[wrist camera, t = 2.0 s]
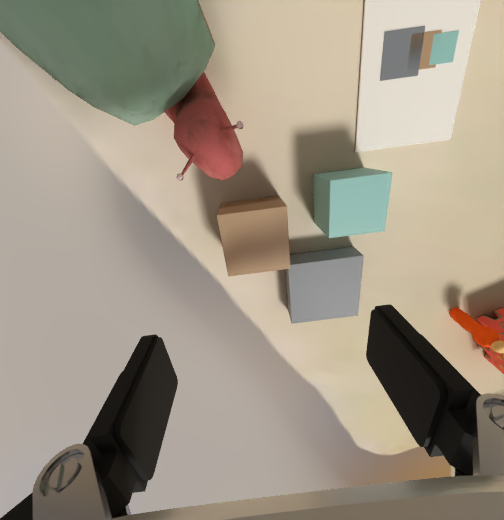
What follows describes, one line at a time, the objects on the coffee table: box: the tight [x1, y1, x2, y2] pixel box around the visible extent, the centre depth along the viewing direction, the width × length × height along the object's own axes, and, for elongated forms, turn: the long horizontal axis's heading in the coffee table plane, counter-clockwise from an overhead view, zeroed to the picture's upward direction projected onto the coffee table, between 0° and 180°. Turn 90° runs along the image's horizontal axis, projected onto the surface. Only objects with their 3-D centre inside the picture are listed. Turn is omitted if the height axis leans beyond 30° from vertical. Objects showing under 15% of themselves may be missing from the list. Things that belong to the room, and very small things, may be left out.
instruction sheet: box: [355, 0, 481, 152], centre depth 20 cm, size 12×9×1 cm
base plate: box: [285, 247, 363, 323], centre depth 28 cm, size 8×8×2 cm
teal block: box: [314, 168, 392, 238], centre depth 22 cm, size 5×5×5 cm
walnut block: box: [217, 196, 290, 276], centre depth 23 cm, size 6×6×5 cm
